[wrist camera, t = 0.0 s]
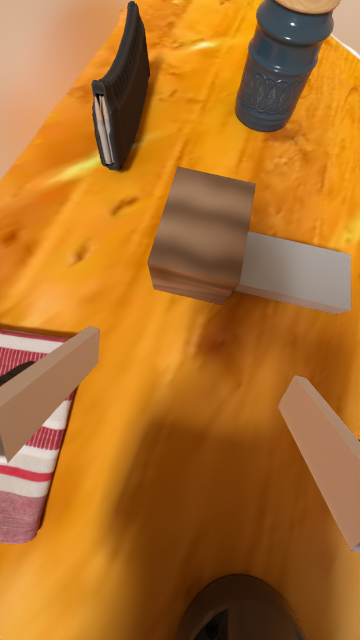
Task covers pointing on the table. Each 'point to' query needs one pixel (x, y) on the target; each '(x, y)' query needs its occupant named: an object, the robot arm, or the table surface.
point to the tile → (296, 273)
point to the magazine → (122, 94)
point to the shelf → (202, 236)
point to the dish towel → (29, 446)
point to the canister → (281, 59)
